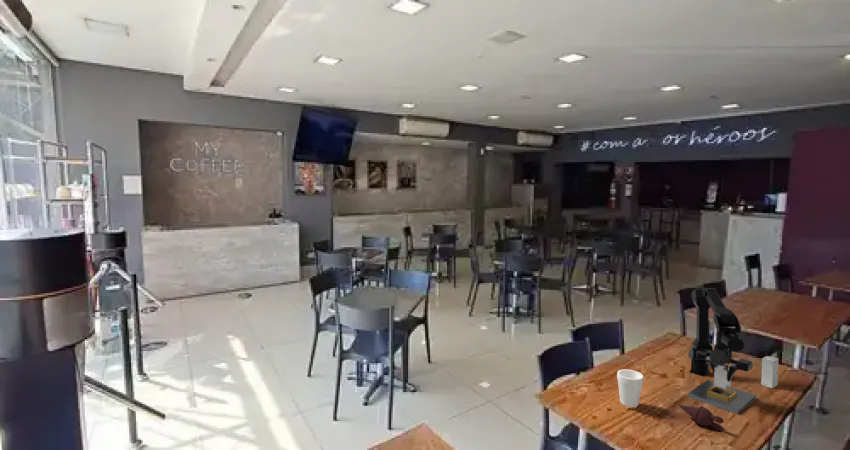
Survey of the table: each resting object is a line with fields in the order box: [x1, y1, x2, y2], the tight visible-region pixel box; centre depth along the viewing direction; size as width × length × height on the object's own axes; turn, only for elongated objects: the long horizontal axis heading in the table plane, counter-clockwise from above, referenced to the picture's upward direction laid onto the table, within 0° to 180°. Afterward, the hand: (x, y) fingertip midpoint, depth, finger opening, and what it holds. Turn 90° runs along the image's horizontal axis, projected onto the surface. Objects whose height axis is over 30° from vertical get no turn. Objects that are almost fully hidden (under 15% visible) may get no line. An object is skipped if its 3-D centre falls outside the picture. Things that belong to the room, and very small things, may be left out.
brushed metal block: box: [713, 363, 732, 390], centre depth 181 cm, size 4×4×10 cm
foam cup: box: [616, 368, 644, 407], centre depth 177 cm, size 10×9×13 cm
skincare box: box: [760, 355, 779, 389], centre depth 192 cm, size 6×4×12 cm
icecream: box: [679, 404, 724, 432], centre depth 163 cm, size 7×7×15 cm
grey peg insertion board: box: [687, 379, 757, 415], centre depth 182 cm, size 18×20×3 cm
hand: (722, 379), depth 182 cm, fingers closed on brushed metal block, 4 cm apart
